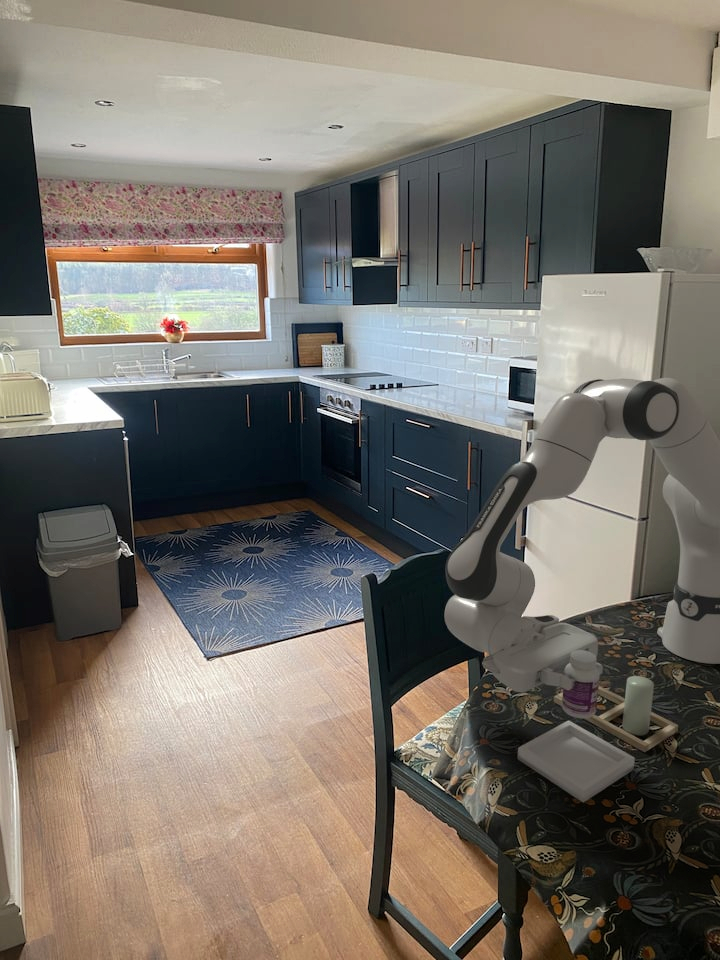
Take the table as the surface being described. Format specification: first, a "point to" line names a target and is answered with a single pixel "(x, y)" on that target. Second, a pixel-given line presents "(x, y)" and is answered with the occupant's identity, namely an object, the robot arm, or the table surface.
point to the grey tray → (576, 760)
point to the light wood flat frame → (604, 723)
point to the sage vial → (638, 705)
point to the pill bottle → (582, 685)
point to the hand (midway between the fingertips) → (586, 678)
